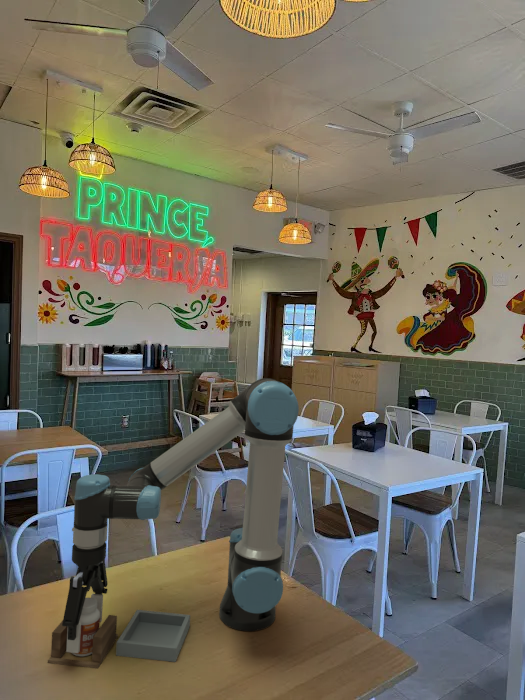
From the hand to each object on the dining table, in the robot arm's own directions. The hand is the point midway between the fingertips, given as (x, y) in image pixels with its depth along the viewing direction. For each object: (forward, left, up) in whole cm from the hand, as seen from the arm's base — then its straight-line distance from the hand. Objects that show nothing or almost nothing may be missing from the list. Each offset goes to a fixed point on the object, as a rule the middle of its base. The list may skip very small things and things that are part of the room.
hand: (85, 635), depth 115 cm
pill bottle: (0, 0, -3) cm, 3 cm away
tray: (-15, -6, -3) cm, 16 cm away
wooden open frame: (0, 0, -3) cm, 3 cm away
